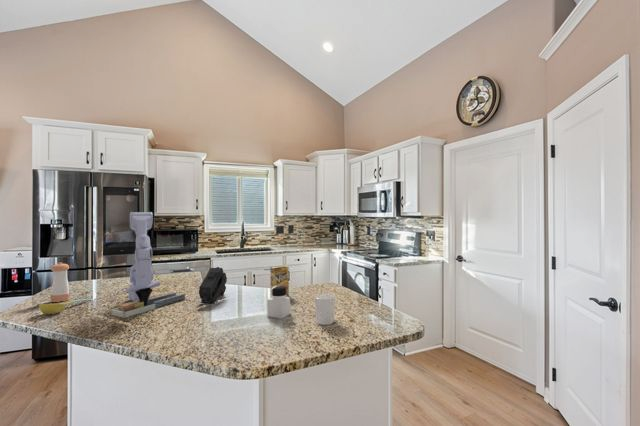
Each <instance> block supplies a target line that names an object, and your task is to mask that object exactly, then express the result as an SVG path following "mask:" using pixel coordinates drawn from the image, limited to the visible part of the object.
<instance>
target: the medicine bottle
mask: <svg viewBox="0 0 640 426" xmlns="http://www.w3.org/2000/svg"><path fill="white" fill-rule="evenodd" d="M266 302H267V303H266V308H267V310H266V314H267V317H268V318H274V319H280V320H281V319H283V318H286V317H287V316H289V315H291V297H290V296H286V288H285V287H284V286H275V287H273V288H272V297H269V298H268V299H267V300H266Z"/></svg>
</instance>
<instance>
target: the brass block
mask: <svg viewBox="0 0 640 426" xmlns="http://www.w3.org/2000/svg"><path fill="white" fill-rule="evenodd" d="M129 303H132V304H134V309H138V308H141V307H145V306H144V302H143V301H132V302H129Z"/></svg>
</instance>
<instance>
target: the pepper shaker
mask: <svg viewBox="0 0 640 426" xmlns="http://www.w3.org/2000/svg"><path fill="white" fill-rule="evenodd" d="M69 269H70V266H69V264H67V263H63V262H58V263H57V264H54V265H52V266H51V267H50V270H51V271H52V283H51V289H50V290H51V294H50V303H51V302H58V303H61V302H60V301H64V302H67V301H66V300H68V301H70V300H71V299H70V298H71V297H70V296H71V295H70V294H71V293H70V291H69V289H70V288H69V287H70V285H69V279H68V270H69ZM69 299H70V300H69Z"/></svg>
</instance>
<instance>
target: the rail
mask: <svg viewBox="0 0 640 426" xmlns="http://www.w3.org/2000/svg"><path fill="white" fill-rule="evenodd" d="M186 300H187V298H186V294H185V293H180V294H177V292H169V293H166V294H163V295H158V296H155V297H150V299H148V301H147V305H146V306H148V305H152V304H155V309H159V308H163V307H166V306H168V305H172V304H176V303H179V302H183V301H186Z"/></svg>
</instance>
